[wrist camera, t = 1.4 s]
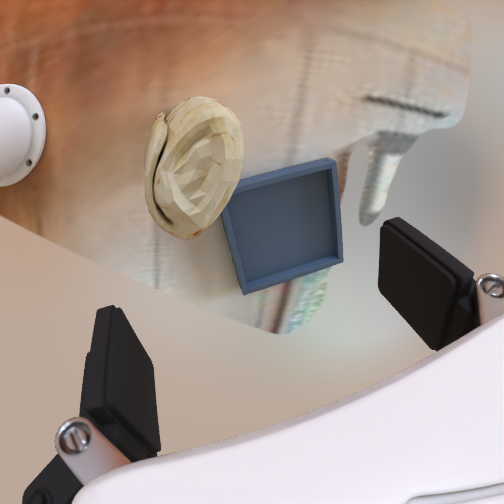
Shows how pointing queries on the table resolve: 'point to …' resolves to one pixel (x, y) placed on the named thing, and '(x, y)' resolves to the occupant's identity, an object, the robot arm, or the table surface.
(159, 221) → the food model
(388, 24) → the table surface
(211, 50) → the table surface
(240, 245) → the serving tray
